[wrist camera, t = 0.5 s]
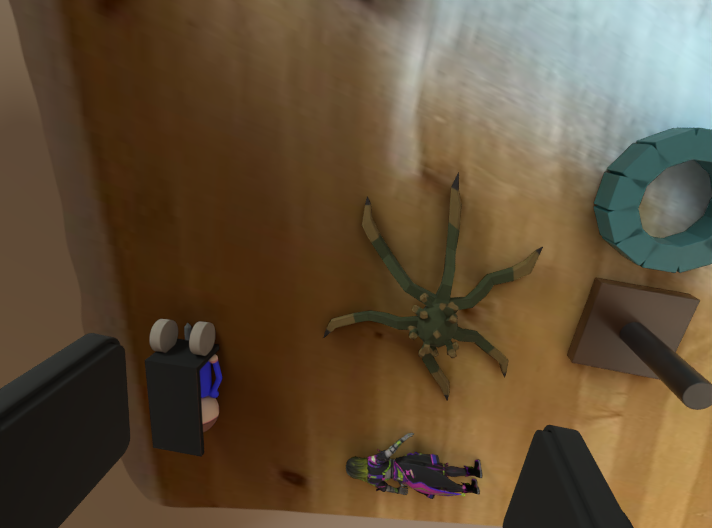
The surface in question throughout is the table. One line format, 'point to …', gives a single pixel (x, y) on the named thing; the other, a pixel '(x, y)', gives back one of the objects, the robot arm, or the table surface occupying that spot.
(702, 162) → the ring
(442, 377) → the octopus toy
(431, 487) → the character figure
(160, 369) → the figurine character
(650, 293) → the stand
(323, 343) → the table surface
